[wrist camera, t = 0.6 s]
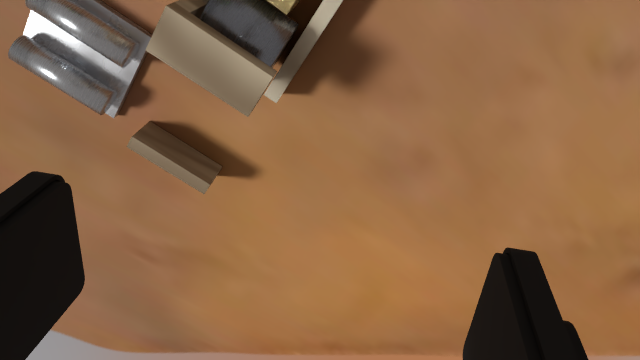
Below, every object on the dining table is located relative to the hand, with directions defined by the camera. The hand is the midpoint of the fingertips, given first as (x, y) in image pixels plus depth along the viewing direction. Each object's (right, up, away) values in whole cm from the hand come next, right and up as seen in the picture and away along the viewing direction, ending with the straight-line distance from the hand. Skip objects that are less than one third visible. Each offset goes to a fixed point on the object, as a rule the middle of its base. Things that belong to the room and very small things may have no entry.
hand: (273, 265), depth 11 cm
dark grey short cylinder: (-4, +12, +24) cm, 27 cm away
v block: (-16, +12, +26) cm, 32 cm away
